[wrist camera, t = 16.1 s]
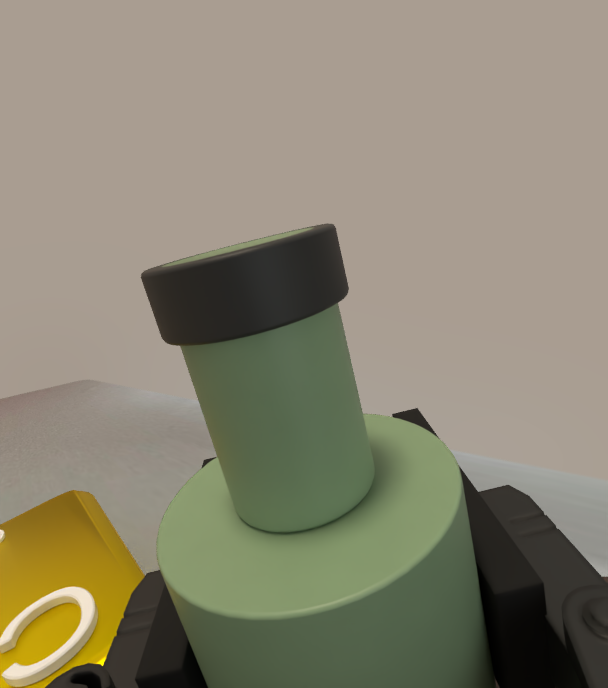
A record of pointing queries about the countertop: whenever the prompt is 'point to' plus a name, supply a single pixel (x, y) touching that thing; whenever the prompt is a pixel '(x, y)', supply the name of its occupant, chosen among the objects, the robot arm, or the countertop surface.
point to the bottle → (308, 491)
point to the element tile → (60, 589)
